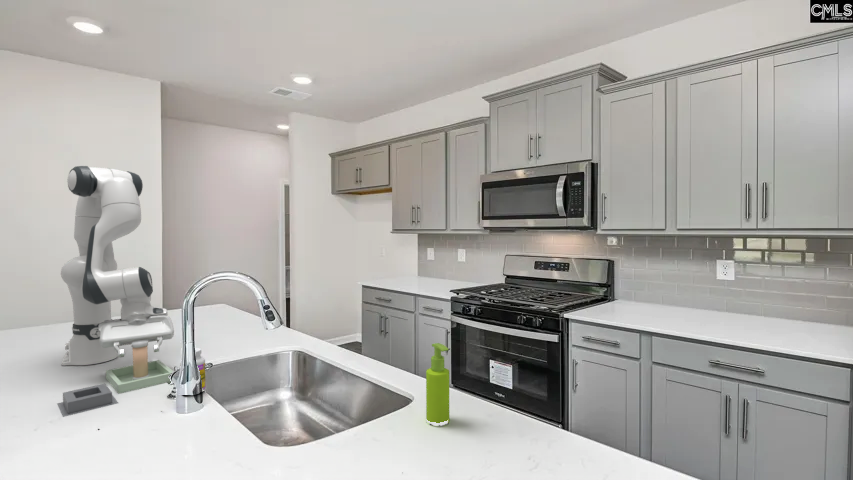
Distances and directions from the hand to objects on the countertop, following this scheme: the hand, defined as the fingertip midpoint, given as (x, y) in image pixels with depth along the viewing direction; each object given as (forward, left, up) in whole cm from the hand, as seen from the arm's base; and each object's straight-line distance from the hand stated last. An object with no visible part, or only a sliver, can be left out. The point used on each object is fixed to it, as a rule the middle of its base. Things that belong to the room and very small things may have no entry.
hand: (139, 353), depth 140 cm
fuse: (0, 0, -8) cm, 8 cm away
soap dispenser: (+87, +46, -10) cm, 99 cm away
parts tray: (0, 0, -9) cm, 9 cm away
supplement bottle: (+21, +9, -10) cm, 25 cm away
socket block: (+11, -15, -9) cm, 21 cm away
